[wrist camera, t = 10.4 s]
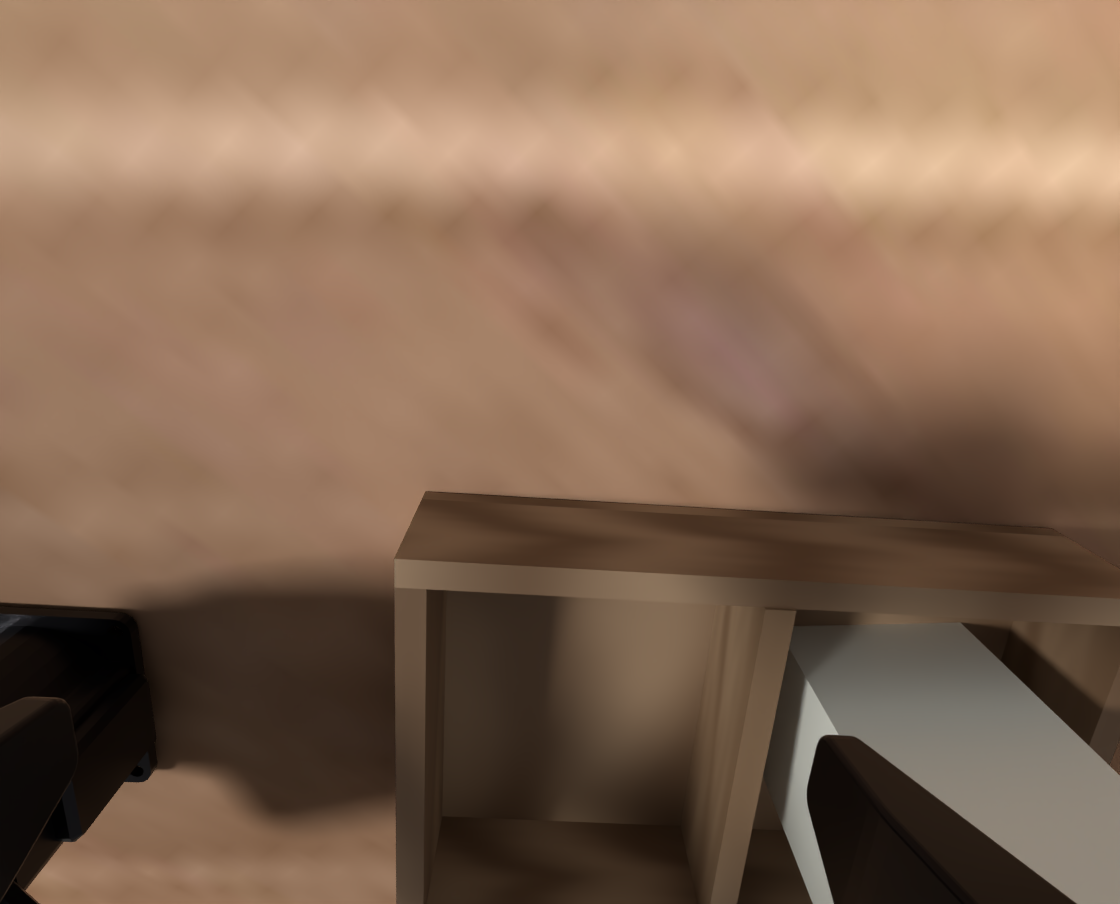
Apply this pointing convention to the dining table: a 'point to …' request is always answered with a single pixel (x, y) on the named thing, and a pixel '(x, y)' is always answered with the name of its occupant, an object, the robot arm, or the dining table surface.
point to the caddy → (947, 748)
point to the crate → (674, 681)
